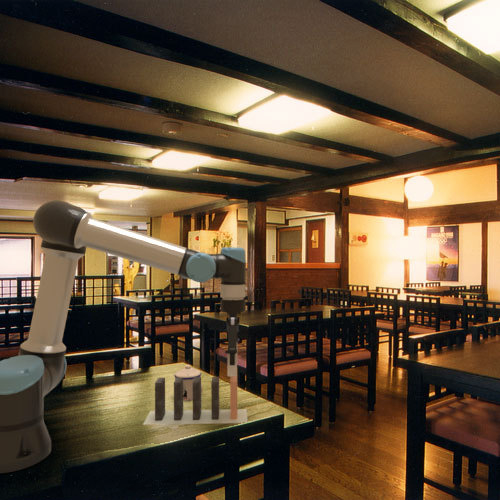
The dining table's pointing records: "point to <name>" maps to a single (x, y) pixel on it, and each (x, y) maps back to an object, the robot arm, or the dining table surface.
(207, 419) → the board
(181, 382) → the domino
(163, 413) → the domino
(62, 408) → the dining table surface
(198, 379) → the domino
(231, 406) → the domino
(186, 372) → the teacup with lid
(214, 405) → the domino
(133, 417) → the dining table surface
